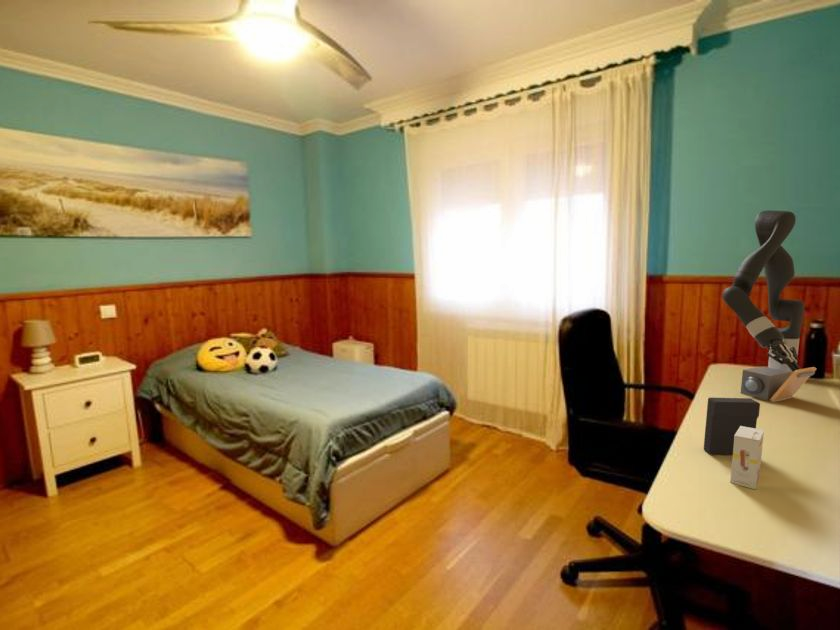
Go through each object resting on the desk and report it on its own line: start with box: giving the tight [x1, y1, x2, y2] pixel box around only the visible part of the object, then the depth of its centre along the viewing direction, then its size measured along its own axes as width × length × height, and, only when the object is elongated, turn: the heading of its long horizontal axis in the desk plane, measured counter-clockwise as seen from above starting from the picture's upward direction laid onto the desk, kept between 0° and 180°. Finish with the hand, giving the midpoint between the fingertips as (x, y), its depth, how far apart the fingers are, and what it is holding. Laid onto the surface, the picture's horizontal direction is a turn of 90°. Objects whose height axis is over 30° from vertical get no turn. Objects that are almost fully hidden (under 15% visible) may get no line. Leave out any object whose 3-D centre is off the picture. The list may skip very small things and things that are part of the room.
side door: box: [769, 366, 817, 403], centre depth 151 cm, size 11×2×15 cm, turn 112°
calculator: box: [703, 397, 761, 456], centre depth 115 cm, size 11×4×15 cm, turn 84°
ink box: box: [729, 426, 765, 490], centre depth 102 cm, size 9×5×12 cm, turn 136°
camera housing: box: [740, 365, 791, 402], centre depth 159 cm, size 14×9×10 cm, turn 112°
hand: (799, 372), depth 149 cm, fingers closed
